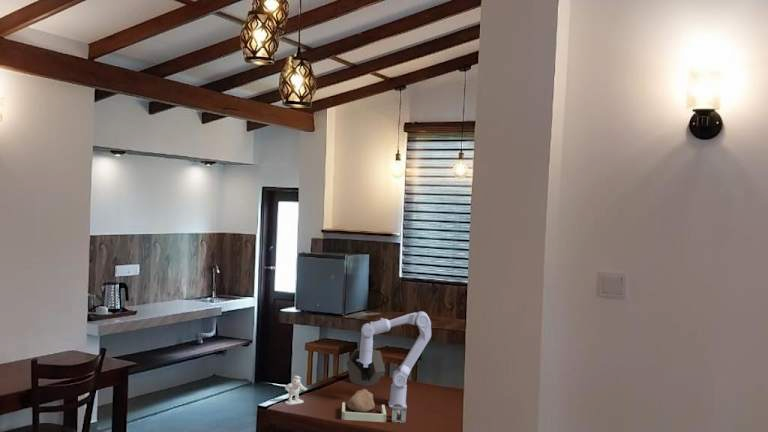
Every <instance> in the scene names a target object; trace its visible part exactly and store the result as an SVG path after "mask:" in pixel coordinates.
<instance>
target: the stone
mask: <svg viewBox="0 0 768 432" xmlns="http://www.w3.org/2000/svg"><path fill="white" fill-rule="evenodd" d="M353 394H354V395H352V396H351V397H350V398H349V399H348V401H347V408H348V409H349V410H352V411H355V412H357V413H369V412H370V411H372V410H374V409H375V407H376V404H375V401H374V394H373V393H372V392H371V391H368V390H367V389H366V388H361V390H357V391H356V392H355V393H353Z"/></svg>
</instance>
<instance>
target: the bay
mask: <svg viewBox="0 0 768 432" xmlns="http://www.w3.org/2000/svg"><path fill="white" fill-rule="evenodd" d="M341 403H342V404H341V420H344V421H357V422H358V421H359V422H372V423H373V422H375V423H376V422H377V423H387V409H386V405H385V404H381V410H380V412H381V413H372V412H358V411H355V412H354V411H353V412H352V411H346V402H345V401H343V402H341Z"/></svg>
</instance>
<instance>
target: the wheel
mask: <svg viewBox="0 0 768 432" xmlns="http://www.w3.org/2000/svg"><path fill="white" fill-rule="evenodd" d="M394 407H403V406H402V405H400V404H396V405H394ZM392 410H393V407H391V411H392ZM397 419H401V411H399V410H397Z"/></svg>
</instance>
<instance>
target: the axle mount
mask: <svg viewBox="0 0 768 432" xmlns="http://www.w3.org/2000/svg"><path fill="white" fill-rule="evenodd" d="M397 410H399V411H401V417H400V418H397ZM391 412H392V413H391V423H397V422H400V423H399V424H401V423H402V424H405V423H406V419H407V408H406V407H394V406H393V410H392V409H391Z"/></svg>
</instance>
